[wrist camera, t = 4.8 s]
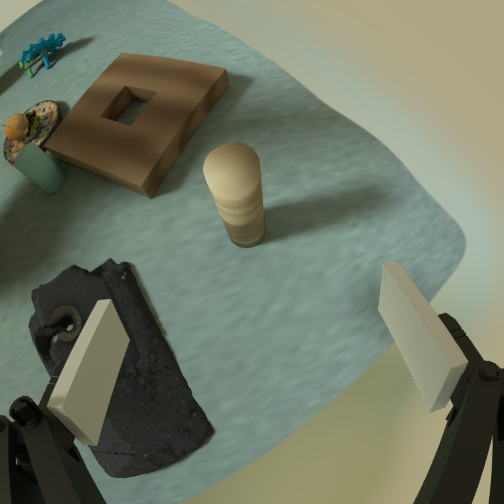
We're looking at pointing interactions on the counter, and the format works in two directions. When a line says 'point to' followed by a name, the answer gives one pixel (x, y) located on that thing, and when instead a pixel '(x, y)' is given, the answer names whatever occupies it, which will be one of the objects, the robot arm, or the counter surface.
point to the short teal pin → (40, 168)
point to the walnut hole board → (138, 119)
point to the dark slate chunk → (123, 370)
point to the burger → (31, 128)
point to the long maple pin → (237, 191)
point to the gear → (40, 52)
